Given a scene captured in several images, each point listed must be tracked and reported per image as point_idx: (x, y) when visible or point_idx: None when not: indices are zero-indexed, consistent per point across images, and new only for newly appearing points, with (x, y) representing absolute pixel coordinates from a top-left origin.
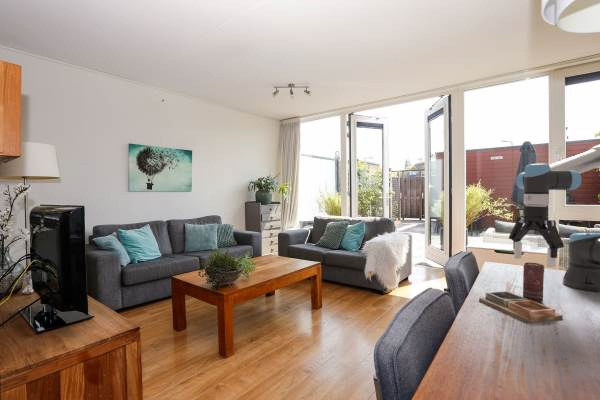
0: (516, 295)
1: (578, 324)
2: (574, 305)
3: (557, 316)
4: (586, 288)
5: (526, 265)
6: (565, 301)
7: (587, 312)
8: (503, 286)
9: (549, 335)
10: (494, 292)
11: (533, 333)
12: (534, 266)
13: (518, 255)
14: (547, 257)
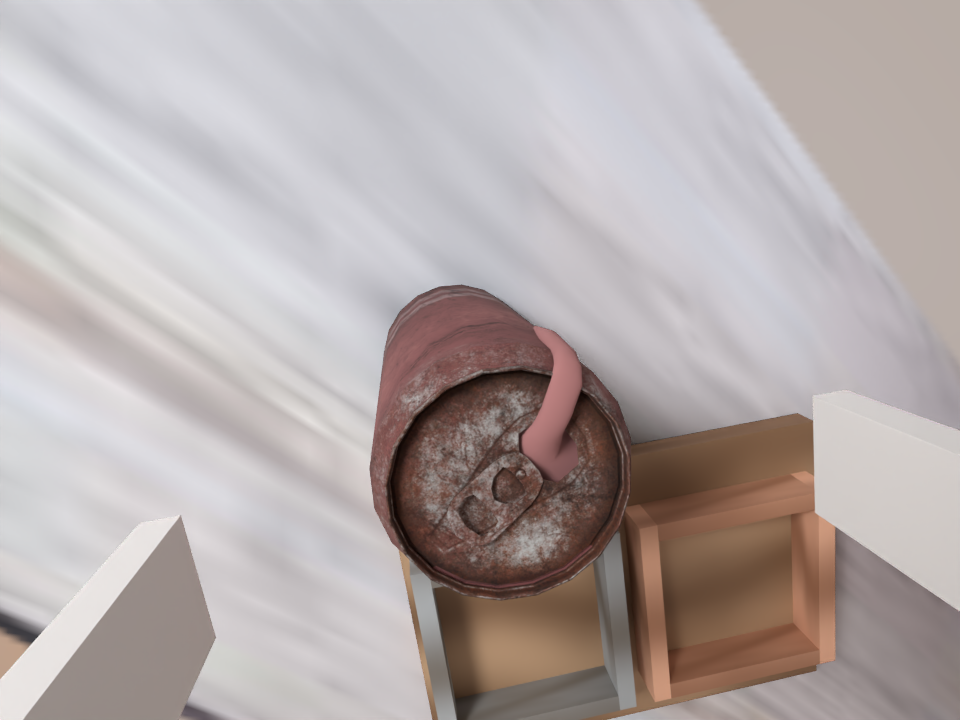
0: None
1: (877, 381)
2: (586, 78)
3: (813, 461)
4: None
5: (506, 592)
6: (488, 66)
7: (730, 120)
8: (20, 339)
9: (942, 637)
10: (449, 691)
11: (907, 695)
12: (605, 540)
13: (176, 618)
14: (953, 601)
